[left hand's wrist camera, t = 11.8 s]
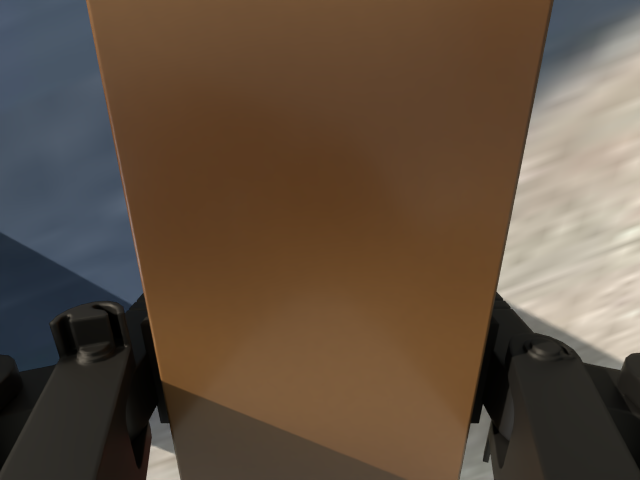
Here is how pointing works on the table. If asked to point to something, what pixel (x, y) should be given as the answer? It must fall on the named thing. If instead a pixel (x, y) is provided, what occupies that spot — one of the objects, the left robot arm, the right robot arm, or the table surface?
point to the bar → (319, 219)
